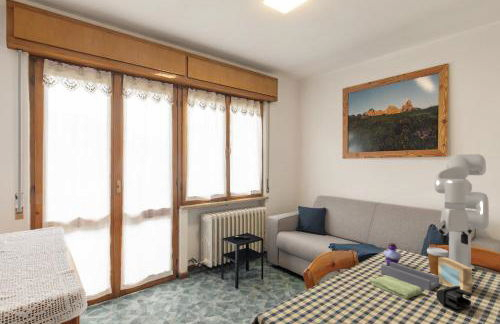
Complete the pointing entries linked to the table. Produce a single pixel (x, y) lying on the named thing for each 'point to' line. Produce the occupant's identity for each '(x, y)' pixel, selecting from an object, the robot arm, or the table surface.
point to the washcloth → (396, 287)
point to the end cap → (454, 298)
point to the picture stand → (411, 276)
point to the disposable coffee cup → (435, 258)
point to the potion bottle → (392, 254)
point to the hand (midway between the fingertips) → (454, 243)
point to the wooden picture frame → (454, 274)
